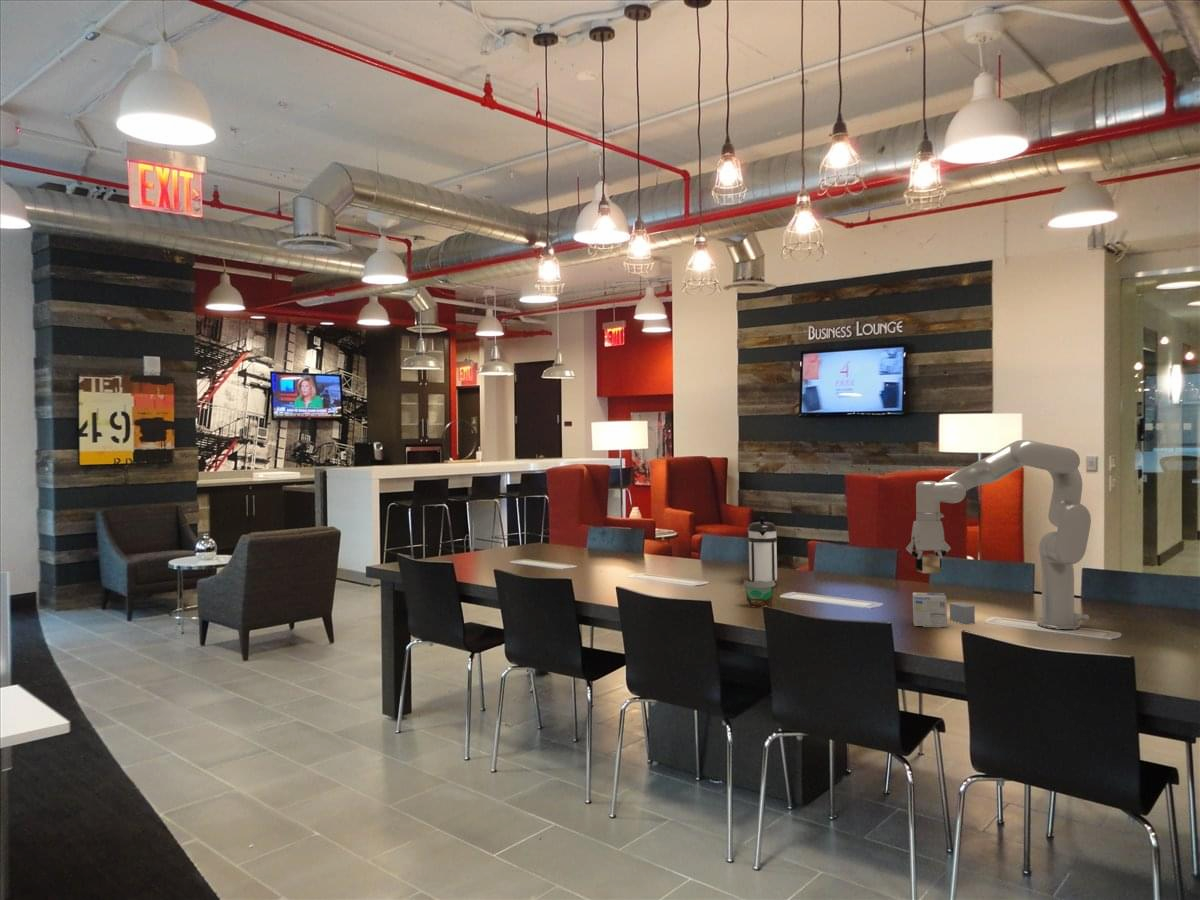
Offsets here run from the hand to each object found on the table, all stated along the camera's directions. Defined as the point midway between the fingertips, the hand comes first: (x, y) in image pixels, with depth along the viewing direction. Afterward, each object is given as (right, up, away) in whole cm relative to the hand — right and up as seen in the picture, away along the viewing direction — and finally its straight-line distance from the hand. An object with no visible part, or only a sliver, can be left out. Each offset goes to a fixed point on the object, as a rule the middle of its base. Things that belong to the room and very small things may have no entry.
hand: (928, 569), depth 286 cm
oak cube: (0, -1, 0) cm, 1 cm away
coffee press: (-41, -18, +84) cm, 95 cm away
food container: (-51, -20, +37) cm, 66 cm away
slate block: (+14, -19, +5) cm, 24 cm away
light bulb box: (+1, -19, 0) cm, 19 cm away
